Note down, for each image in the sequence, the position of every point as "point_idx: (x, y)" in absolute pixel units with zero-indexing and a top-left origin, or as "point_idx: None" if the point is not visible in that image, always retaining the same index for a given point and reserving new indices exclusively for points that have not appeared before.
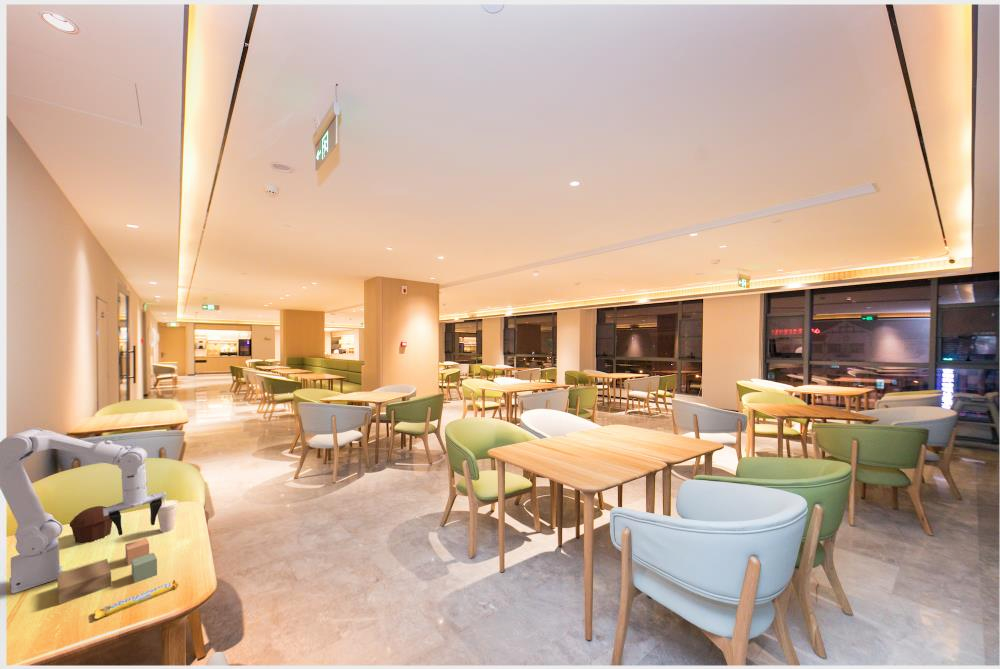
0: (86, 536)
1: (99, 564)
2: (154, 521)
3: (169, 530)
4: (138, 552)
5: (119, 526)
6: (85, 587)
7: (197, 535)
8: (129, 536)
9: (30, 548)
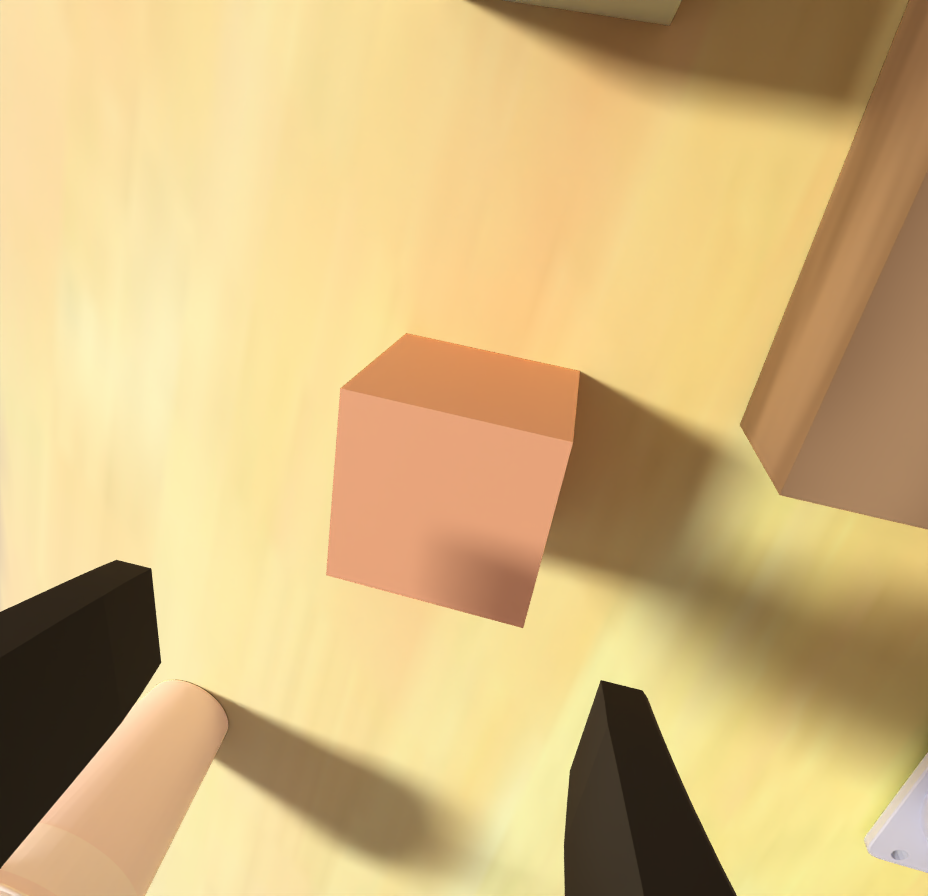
0: None
1: (923, 412)
2: (54, 587)
3: (177, 684)
4: (472, 387)
5: (685, 894)
6: None
7: (14, 396)
8: (392, 842)
9: None
